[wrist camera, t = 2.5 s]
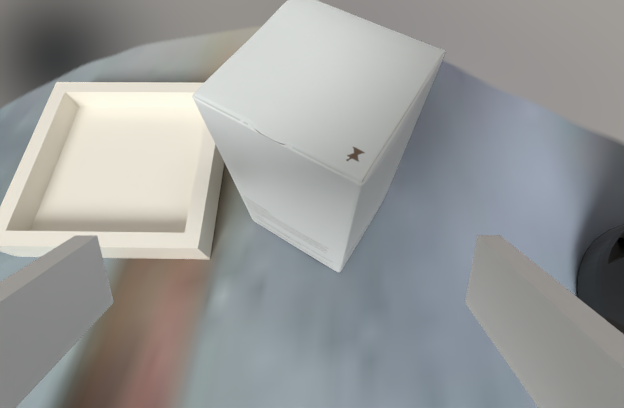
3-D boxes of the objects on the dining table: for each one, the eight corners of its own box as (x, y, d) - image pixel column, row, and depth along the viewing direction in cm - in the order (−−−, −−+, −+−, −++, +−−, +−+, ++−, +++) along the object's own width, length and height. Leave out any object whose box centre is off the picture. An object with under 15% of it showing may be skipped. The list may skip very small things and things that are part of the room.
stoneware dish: (233, 104, 33) (225, 82, 31) (210, 259, 27) (197, 248, 24) (77, 104, 34) (56, 82, 31) (16, 256, 27) (-18, 245, 24)
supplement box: (391, 190, 29) (456, 47, 16) (339, 276, 26) (365, 190, 12) (305, 145, 31) (296, -16, 18) (248, 219, 28) (184, 93, 15)
